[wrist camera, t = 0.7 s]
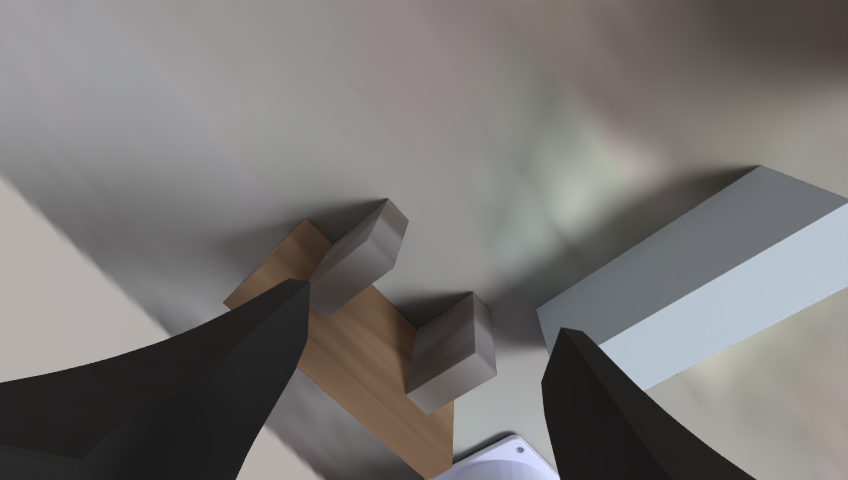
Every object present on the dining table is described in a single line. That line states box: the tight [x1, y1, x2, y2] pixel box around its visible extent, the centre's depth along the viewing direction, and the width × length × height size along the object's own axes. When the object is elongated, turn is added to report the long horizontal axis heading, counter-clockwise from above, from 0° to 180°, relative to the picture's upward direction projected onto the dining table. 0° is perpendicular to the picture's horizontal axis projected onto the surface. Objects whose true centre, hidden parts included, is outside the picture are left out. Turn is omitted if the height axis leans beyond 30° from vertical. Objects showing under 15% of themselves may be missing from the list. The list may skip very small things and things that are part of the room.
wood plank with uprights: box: [223, 199, 497, 480], centre depth 20 cm, size 6×12×6 cm, turn 41°
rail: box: [536, 165, 848, 391], centre depth 19 cm, size 3×12×5 cm, turn 132°
